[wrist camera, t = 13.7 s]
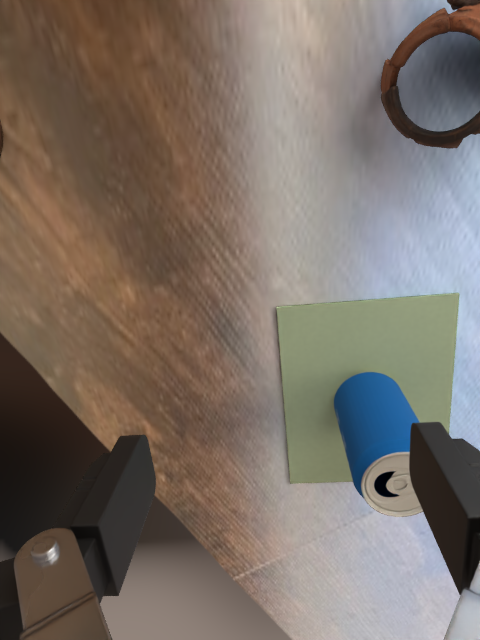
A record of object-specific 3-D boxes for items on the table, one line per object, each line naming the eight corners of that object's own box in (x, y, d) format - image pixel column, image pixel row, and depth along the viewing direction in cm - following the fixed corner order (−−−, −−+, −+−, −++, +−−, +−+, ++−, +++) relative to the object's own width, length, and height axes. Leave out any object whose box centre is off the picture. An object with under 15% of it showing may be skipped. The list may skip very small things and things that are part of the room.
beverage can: (327, 374, 40) (348, 456, 29) (396, 362, 39) (446, 441, 28) (338, 430, 42) (362, 527, 31) (404, 420, 41) (453, 515, 30)
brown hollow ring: (515, 130, 33) (510, 160, 27) (391, 130, 37) (363, 156, 31) (568, -79, 26) (575, -98, 20) (407, -49, 30) (376, -58, 25)
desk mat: (290, 481, 45) (290, 483, 45) (276, 306, 39) (276, 307, 38) (444, 476, 44) (445, 478, 43) (458, 292, 37) (459, 293, 37)
